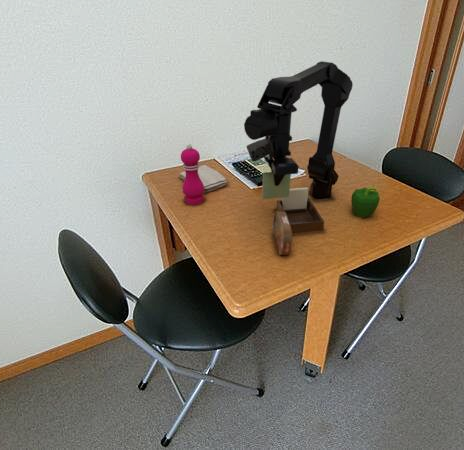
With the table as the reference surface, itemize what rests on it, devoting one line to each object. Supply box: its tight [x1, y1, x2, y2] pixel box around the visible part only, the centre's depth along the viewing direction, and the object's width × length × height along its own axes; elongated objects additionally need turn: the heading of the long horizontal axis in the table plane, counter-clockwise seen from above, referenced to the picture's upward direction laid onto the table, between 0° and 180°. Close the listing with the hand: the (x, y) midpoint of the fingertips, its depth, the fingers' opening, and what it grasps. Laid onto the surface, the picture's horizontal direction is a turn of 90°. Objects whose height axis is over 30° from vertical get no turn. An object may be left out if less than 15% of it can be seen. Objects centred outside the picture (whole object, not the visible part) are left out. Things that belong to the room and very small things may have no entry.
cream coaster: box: [281, 186, 310, 210], centre depth 108 cm, size 1×8×8 cm, turn 100°
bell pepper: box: [350, 186, 381, 219], centre depth 107 cm, size 8×8×10 cm
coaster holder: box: [275, 197, 325, 235], centre depth 105 cm, size 14×11×4 cm
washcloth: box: [178, 165, 229, 195], centre depth 127 cm, size 12×18×3 cm, turn 39°
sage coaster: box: [261, 171, 292, 200], centre depth 98 cm, size 1×8×8 cm, turn 101°
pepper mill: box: [180, 143, 205, 206], centre depth 111 cm, size 7×7×20 cm
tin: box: [272, 210, 293, 256], centre depth 93 cm, size 15×3×8 cm, turn 5°
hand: (276, 184), depth 98 cm, fingers closed on sage coaster, 1 cm apart
